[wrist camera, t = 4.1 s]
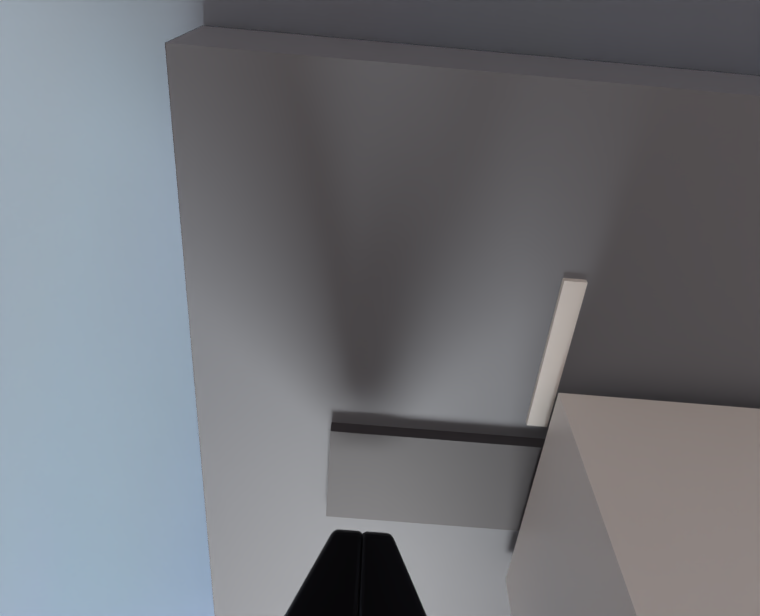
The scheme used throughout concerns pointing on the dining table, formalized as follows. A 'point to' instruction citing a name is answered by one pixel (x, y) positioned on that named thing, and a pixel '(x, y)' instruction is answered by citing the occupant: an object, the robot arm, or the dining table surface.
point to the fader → (641, 512)
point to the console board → (441, 285)
